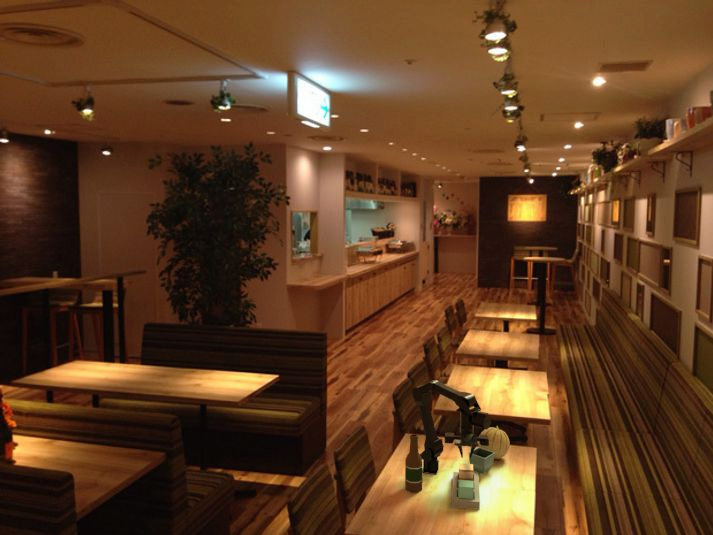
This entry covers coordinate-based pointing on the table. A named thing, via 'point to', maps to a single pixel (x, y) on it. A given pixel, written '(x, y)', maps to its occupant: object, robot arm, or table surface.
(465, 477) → the tan block
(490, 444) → the cantaloupe
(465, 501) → the grey rectangular tray
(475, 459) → the flower pot
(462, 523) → the table surface
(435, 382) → the robot arm
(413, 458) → the beer bottle
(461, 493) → the green block
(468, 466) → the light brown block
